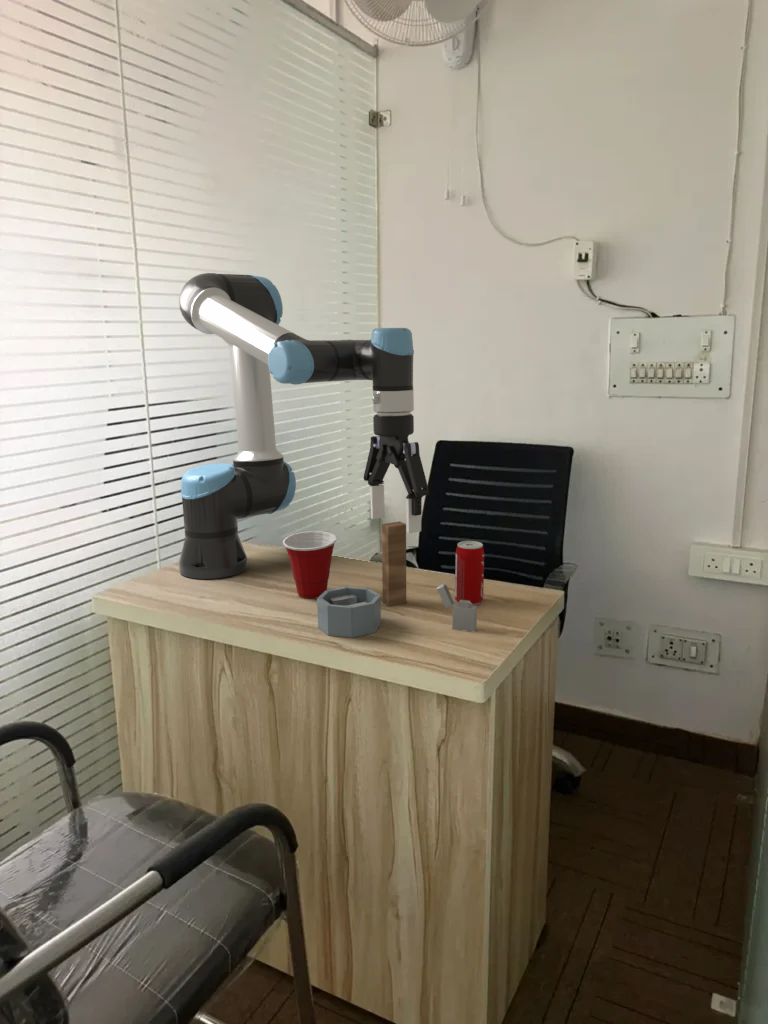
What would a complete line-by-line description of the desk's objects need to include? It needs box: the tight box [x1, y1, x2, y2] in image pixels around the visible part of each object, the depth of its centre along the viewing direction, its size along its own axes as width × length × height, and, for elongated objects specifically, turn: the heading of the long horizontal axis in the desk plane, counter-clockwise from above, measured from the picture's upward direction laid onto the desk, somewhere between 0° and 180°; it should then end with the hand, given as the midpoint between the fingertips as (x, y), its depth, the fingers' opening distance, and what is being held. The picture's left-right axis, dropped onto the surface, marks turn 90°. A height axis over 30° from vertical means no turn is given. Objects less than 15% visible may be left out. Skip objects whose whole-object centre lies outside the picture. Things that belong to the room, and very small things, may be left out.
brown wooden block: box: [381, 521, 407, 607], centre depth 144 cm, size 2×4×16 cm, turn 120°
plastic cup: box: [282, 530, 337, 599], centre depth 150 cm, size 11×11×12 cm
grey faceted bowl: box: [316, 586, 382, 639], centre depth 134 cm, size 11×11×6 cm
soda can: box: [454, 540, 485, 606], centre depth 145 cm, size 6×6×12 cm
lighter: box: [436, 582, 478, 632], centre depth 132 cm, size 7×2×8 cm, turn 68°
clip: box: [329, 594, 366, 606], centre depth 134 cm, size 6×5×4 cm
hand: (395, 524), depth 142 cm, fingers open, 13 cm apart
